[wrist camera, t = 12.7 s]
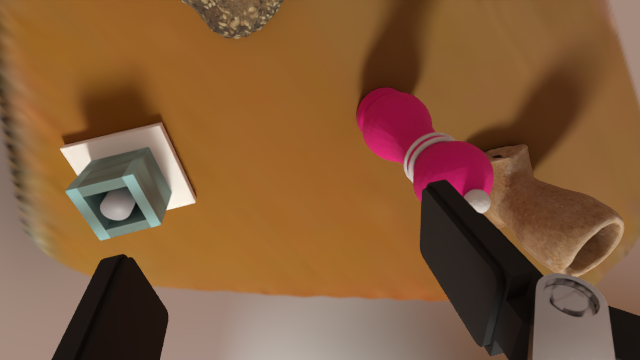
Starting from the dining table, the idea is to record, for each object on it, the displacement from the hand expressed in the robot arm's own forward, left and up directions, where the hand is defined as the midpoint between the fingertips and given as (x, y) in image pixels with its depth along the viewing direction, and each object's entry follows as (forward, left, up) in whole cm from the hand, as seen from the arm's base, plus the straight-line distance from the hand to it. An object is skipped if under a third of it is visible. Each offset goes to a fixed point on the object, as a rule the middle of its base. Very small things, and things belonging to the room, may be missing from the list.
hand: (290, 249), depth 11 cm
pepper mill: (+8, +13, -28) cm, 32 cm away
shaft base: (+8, -16, -28) cm, 33 cm away
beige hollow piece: (+23, +30, -28) cm, 47 cm away
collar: (+8, -16, -27) cm, 32 cm away
